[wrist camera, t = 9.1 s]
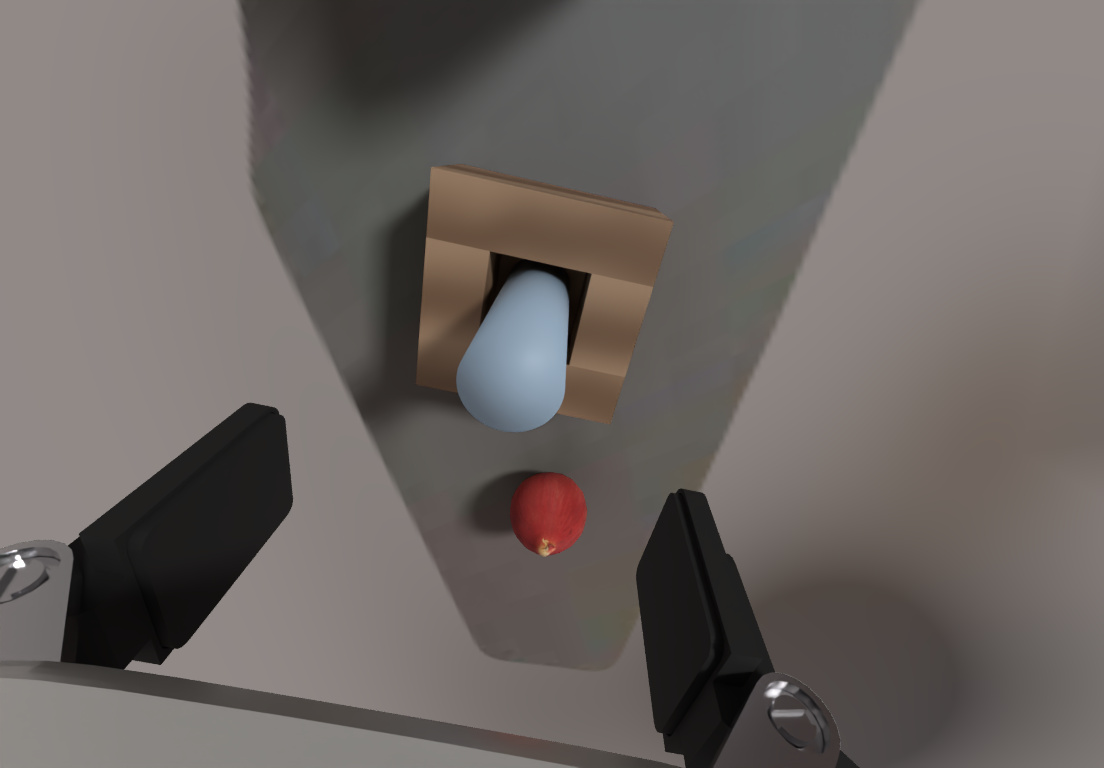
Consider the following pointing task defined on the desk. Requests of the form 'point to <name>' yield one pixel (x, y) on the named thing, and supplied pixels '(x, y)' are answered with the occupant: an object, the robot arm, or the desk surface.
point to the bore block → (548, 237)
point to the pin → (519, 351)
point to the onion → (548, 513)
